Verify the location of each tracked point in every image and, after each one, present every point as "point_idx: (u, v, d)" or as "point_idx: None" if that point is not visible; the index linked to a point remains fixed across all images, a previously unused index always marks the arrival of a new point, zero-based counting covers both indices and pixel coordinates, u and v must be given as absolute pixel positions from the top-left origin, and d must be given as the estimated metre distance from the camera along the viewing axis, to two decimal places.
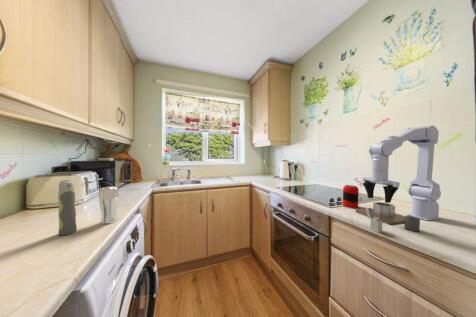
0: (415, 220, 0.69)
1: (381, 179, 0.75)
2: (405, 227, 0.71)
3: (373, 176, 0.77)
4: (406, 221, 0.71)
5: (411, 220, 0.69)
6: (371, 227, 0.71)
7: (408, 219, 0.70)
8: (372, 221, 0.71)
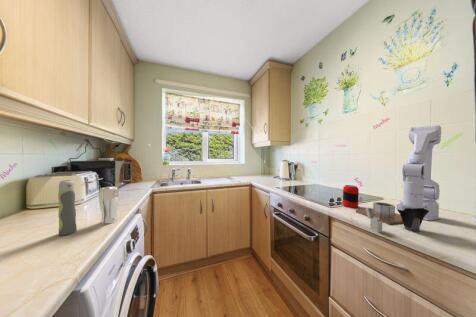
0: (415, 220, 0.69)
1: (403, 201, 0.72)
2: (405, 227, 0.71)
3: None
4: None
5: None
6: (371, 227, 0.71)
7: None
8: (372, 221, 0.71)
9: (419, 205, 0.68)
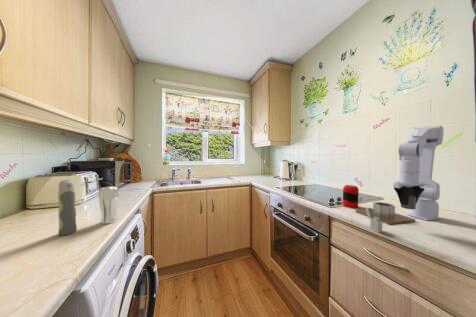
0: (411, 198, 0.70)
1: (400, 180, 0.73)
2: (402, 205, 0.73)
3: None
4: None
5: None
6: (371, 227, 0.71)
7: None
8: (372, 221, 0.71)
9: (415, 183, 0.69)
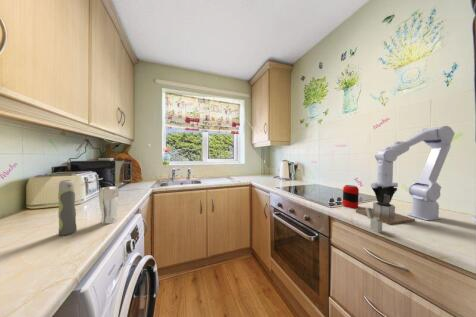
0: (386, 196, 0.83)
1: (377, 181, 0.86)
2: (378, 203, 0.86)
3: None
4: None
5: None
6: (371, 227, 0.71)
7: None
8: (372, 221, 0.71)
9: (389, 183, 0.82)
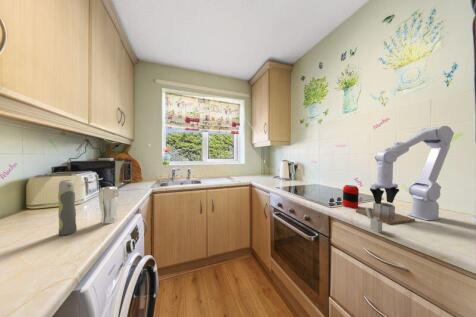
0: None
1: (377, 182, 0.86)
2: None
3: None
4: None
5: None
6: (371, 227, 0.71)
7: None
8: (372, 221, 0.71)
9: (389, 185, 0.82)
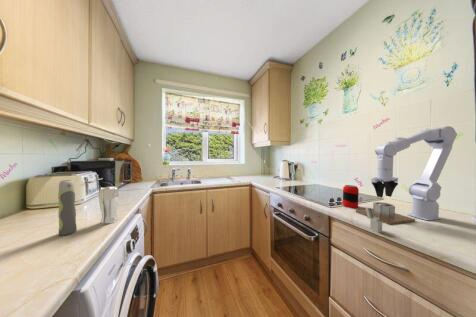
0: None
1: (377, 176, 0.86)
2: None
3: None
4: None
5: None
6: (371, 227, 0.71)
7: None
8: (372, 221, 0.71)
9: (389, 178, 0.82)
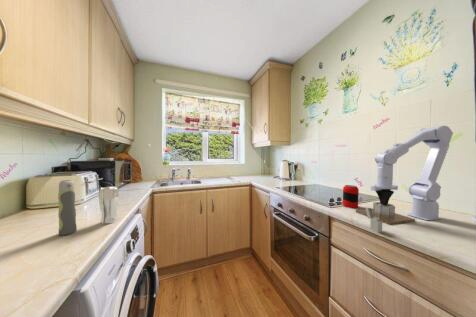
0: None
1: (377, 184, 0.86)
2: None
3: None
4: None
5: None
6: (371, 227, 0.71)
7: None
8: (372, 221, 0.71)
9: (389, 186, 0.82)
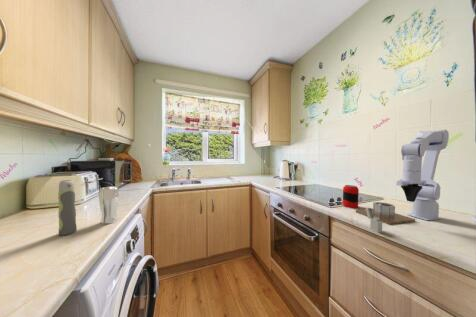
0: None
1: (403, 179, 0.78)
2: None
3: None
4: None
5: None
6: (371, 227, 0.71)
7: None
8: (372, 221, 0.71)
9: (417, 181, 0.74)
